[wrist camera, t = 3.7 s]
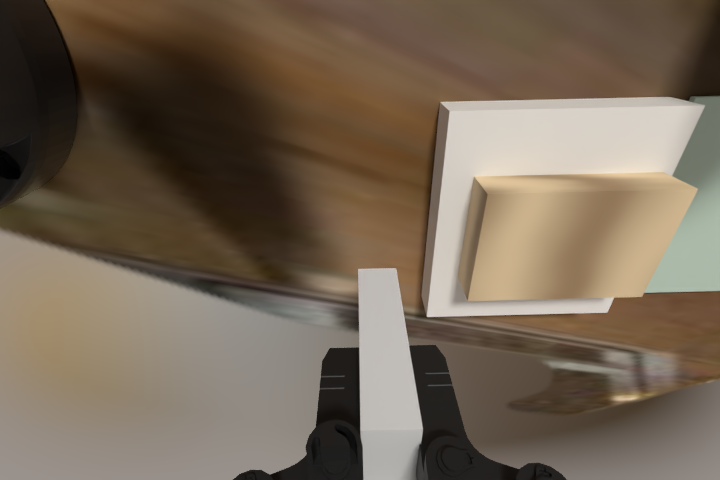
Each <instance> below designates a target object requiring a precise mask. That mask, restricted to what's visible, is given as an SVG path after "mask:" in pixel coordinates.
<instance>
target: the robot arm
mask: <svg viewBox="0 0 720 480" xmlns="http://www.w3.org/2000/svg"><path fill="white" fill-rule="evenodd" d="M76 122H77V101H76V91H75V85H74V79H73V75H72V70H71V66H70V63H69V59H68V56H67V53H66V50H65V47H64V45H63V42H62V39H61V36H60V34H59V32H58V30H57V27H56V25H55V23H54V20H53V18H52V16H51V14H50V12H49V10H48V8H47V7H46V5H45V3H44V1H43V0H0V208H2V207H4V206H6V205H8V204H10V203H12V202H14V201H15V200H17V199H19V198H21V197H23V196H25V195H27V194H29V193H31V192H32V191H34V190H36V189H38V188H40V187H41V186H42V185H44V184H45V183H47V182H48V181H49V180H50V179H51V178H52V177H53V176H54V175H55V174H56V173H57V172H58V171H59V169H60V168H61V167H62V165H63V164H64V162H65V160H66V158H67V157H68V154H69V152H70V149H71V147H72V143H73V140H74V136H75V130H76ZM358 280H359V348H330V349H329V351H328V352H327V354H326V356H325V358H324V359H323V361H322V371H321V381H320V391H319V401H318V411H317V421H316V428H315V429H314V430H313V432H312V433H311V434H310V436H309V438H308V441H307V444H306V452H307V455H306V456H305V457H304V458H303V459H302V460H301V461H299V462H298V463H297V464H295V465H293V466H291V467H289V468H286V469H284V470H281V471H279V472H276V473H273V474H271V475H269V474H267V473H265V472H264V471H262V470H249V471H247V472H244V473H241V474H239V475H238V476H237V477H236V478H234V479H233V480H566V478H565V477H563V475H562V474H560V473H559V472H558V471H556V470H555V469H553V468H552V467H550V466H547V465H544V464H541V463H528V464H527V465H525V466H523V467H522V468H520V469H517V468H513V467H510V466H507V465H504V464H501V463H498V462H495V461H493V460H490V459H488V458H486V457H485V456H484V455H482V454H481V453H479V452H478V451H477V450H476V449H475V448H474V447H473V445H472V444H471V443H470V441H469V440H468V438H467V435H466V432H465V430H464V426H463V422H462V418H461V415H460V411H459V407H458V404H457V400H456V397H455V393H454V389H453V387H452V382H451V378H450V375H449V370H448V367H447V363H446V359H445V357H444V356H443V354H442V353H441V352H440V350H439V349H438V348H437V347H436V345H417V346H409V343H408V337H407V331H406V325H405V319H404V313H403V307H402V301H401V295H400V289H399V283H398V277H397V271H396V268H382V269H358Z"/></svg>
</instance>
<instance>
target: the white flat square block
mask: <svg viewBox="0 0 720 480" xmlns="http://www.w3.org/2000/svg"><path fill="white" fill-rule="evenodd" d="M704 107H705V105H702V104H697V103H693V102H689V101H685V100H681V99H677V98H673V97H641V98H596V99H551V100H506V101H461V102H440V107H439V117H438V127H437V138H436V148H435V159H434V169H433V179H432V190H431V200H430V211H429V221H428V231H427V242H426V252H425V263H424V273H423V283H422V294H421V296H422V300H423V304H424V308H425V312H426V316H427V317H449V316H489V315H528V314H567V313H606V312H608V310H609V308H610V306H611V304H612V301H613V299H614V297H613V298H574V299H534V300H495V301H467V298H466V296H465V294H464V291H463V289H462V286H461V284H460V281H459V279H458V273H459V267H460V260H461V254H462V248H463V242H464V236H465V229H466V223H467V217H468V211H469V205H470V198H471V192H472V186H473V180H474V176H516V175H558V174H601V173H644V172H664V173H666V174H668V175H670V176H672V175H673V173H674V171H675V168H676V166H677V164H678V162H679V160H680V158H681V156H682V154H683V151H684V149H685V147H686V145H687V143H688V141H689V139H690V137H691V135H692V132H693V130H694V128H695V126H696V124H697V122H698V120H699V118H700V116H701V113H702V111H703V109H704Z"/></svg>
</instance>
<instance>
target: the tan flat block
mask: <svg viewBox="0 0 720 480" xmlns="http://www.w3.org/2000/svg"><path fill="white" fill-rule="evenodd" d="M697 191H698V189H697V188H695V187H693V186H691V185H689V184H687V183H685V182H683V181H681V180H679V179H677V178H675V177H673V176H670V175H668V174H666V173H664V172H644V173H601V174H558V175H516V176H474V180H473V186H472V192H471V198H470V205H469V211H468V217H467V223H466V229H465V236H464V242H463V248H462V254H461V260H460V267H459V273H458V279H459V281H460V284H461V286H462V289H463V291H464V294H465V296H466V298H467V301H495V300H534V299H574V298H613V297H642V295H643V293H644V292H645V290H646V288H647V286H648V284H649V282H650V280H651V278H652V276H653V274H654V273H655V271H656V269H657V267H658V265H659V263H660V261H661V259H662V257H663V255H664V254H665V252H666V250H667V248H668V246H669V244H670V242H671V240H672V238H673V236H674V235H675V233H676V231H677V229H678V227H679V225H680V223H681V221H682V219H683V217H684V216H685V214H686V212H687V210H688V208H689V206H690V204H691V202H692V200H693V198H694V197H695V195H696V193H697Z"/></svg>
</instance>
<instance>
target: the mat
mask: <svg viewBox="0 0 720 480" xmlns="http://www.w3.org/2000/svg"><path fill="white" fill-rule="evenodd" d="M689 102H693V103H697V104H702V105H705V107H704V109H703V111H702V113H701V116H700V118H699V120H698V122H697V124H696V126H695V128H694V130H693V132H692V135H691V137H690V139H689V141H688V143H687V145H686V147H685V149H684V151H683V154H682V156H681V158H680V160H679V162H678V164H677V166H676V168H675V171H674V173H673V175H672V176H673V177H675V178H677V179H679V180H681V181H683V182H685V183H687V184H689V185H691V186H693V187H695V188H697V189H698V191H697V193H696V195H695V197H694V198H693V200H692V202H691V204H690V206H689V208H688V210H687V212H686V214H685V216H684V217H683V219H682V221H681V223H680V225H679V227H678V229H677V231H676V233H675V235H674V236H673V238H672V240H671V242H670V244H669V246H668V248H667V250H666V252H665V254H664V255H663V257H662V259H661V261H660V263H659V265H658V267H657V269H656V271H655V273H654V274H653V276H652V278H651V280H650V282H649V284H648V286H647V288H646V290H645V292H644V293H655V292H695V291H720V96H691V97H690V99H689Z"/></svg>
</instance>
